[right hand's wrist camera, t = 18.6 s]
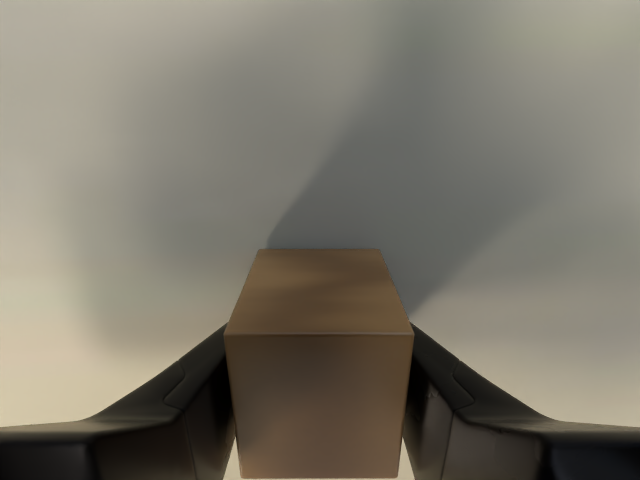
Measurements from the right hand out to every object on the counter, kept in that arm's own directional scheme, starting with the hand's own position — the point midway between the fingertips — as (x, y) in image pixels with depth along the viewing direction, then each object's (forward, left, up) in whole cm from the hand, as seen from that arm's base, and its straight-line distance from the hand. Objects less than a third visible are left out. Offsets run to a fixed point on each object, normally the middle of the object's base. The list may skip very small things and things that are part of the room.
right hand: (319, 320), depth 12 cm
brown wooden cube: (0, 0, -1) cm, 1 cm away
